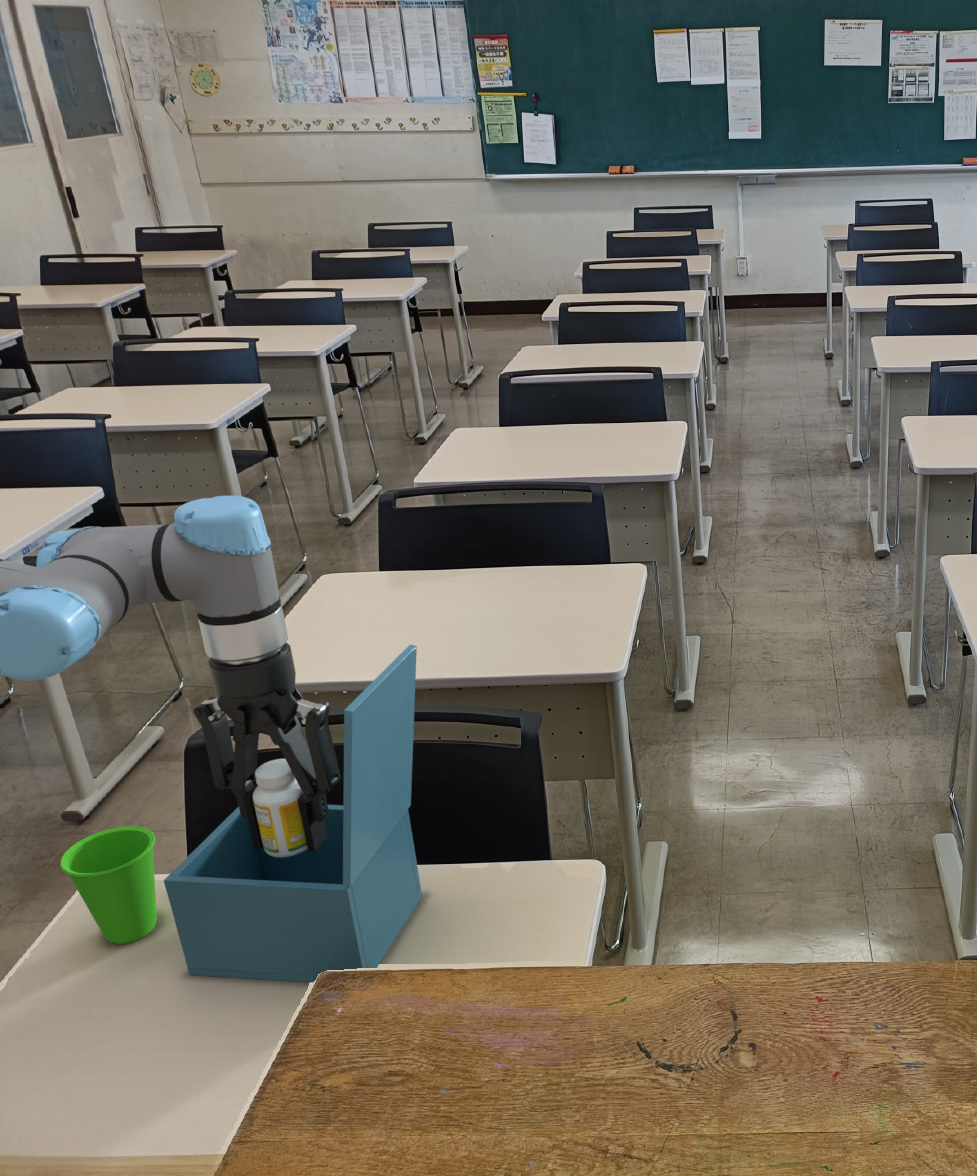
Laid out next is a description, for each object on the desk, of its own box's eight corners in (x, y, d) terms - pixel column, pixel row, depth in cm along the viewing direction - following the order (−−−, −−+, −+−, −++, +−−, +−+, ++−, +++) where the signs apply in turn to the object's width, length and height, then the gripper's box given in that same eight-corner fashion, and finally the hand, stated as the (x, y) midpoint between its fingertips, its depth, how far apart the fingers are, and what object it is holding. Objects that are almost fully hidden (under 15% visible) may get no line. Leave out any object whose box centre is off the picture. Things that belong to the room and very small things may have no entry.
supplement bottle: (258, 861, 111) (239, 784, 107) (272, 832, 116) (255, 757, 112) (311, 856, 112) (295, 779, 108) (323, 827, 117) (308, 752, 113)
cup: (127, 964, 114) (102, 881, 110) (65, 946, 117) (39, 865, 113) (194, 913, 122) (173, 834, 118) (135, 897, 125) (113, 819, 120)
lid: (343, 709, 98) (352, 711, 98) (409, 644, 112) (417, 645, 112) (342, 885, 106) (350, 887, 106) (404, 804, 120) (410, 805, 120)
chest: (189, 975, 112) (163, 880, 108) (264, 887, 126) (244, 800, 122) (365, 985, 111) (346, 890, 106) (422, 896, 124) (408, 808, 120)
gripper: (354, 636, 108) (387, 826, 116) (185, 631, 109) (231, 818, 118) (317, 668, 101) (356, 867, 109) (138, 662, 102) (190, 859, 111)
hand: (291, 842), depth 114 cm, fingers closed on supplement bottle, 5 cm apart
